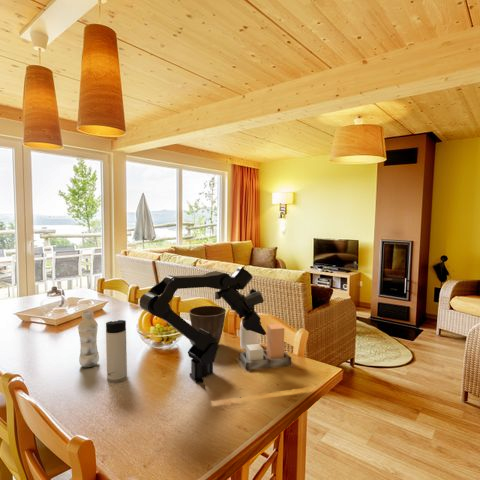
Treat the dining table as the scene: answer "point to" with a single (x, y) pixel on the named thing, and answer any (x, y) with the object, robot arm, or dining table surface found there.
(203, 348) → the robot arm
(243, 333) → the beverage can
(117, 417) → the dining table surface
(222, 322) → the plant pot
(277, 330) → the jaw tall
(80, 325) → the plastic bottle
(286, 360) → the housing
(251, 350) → the cream white block
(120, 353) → the travel mug
